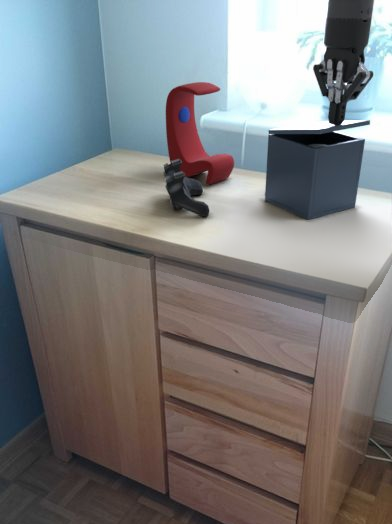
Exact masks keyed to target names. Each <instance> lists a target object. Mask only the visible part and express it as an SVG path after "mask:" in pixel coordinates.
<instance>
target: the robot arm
mask: <svg viewBox="0 0 392 524" xmlns="http://www.w3.org/2000/svg"><path fill="white" fill-rule="evenodd" d="M326 2H327V3H326V12H325V21H324V32H323V39H322V40H323V41H322V42H323V43H322V44H323V46H324V47H325V48H326V49H325V51H324V53H323V59H322V61H320V63H315V64H314V65H313V67H312V70H313V73H314V77H315V79H316V81H317V84H318V87H319V90H320V92H321V96H322V97H325V98H327V100H328V102H329V105H328V115H327V119H328V121H329V124H333V125H340V124H342V123H343V121H345V119H346V112H347V105H348V103H349V102H351V101H356V100H357V99H358V98H359V96H360V95H361V93H362V92H363V91H364V90H365V88H366V87H367V85H369V83H370V81H371V80H372V79H373V78H374V71H373V70H368V68H367V67H366V66H365V62H366V57H365V49H366V48H367V46H368V45H369V41H370V34H371V27H372V21H373V12H374V5H375V0H327V1H326Z"/></svg>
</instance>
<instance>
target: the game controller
mask: <svg viewBox="0 0 392 524" xmlns="http://www.w3.org/2000/svg"><path fill="white" fill-rule="evenodd" d="M171 162H172V163H168V162H166V163H164V164H163V170H164V171H163V176H164V179H165V183H166V184H165V186H164V187H165V190H166V192H167V194H168V197H169V199H170V201H169V204H170V205H171V207H172V209H173V210H175V211H176V210H177V208H178V209H179V210H185V211H188V212H191V213H193V214H195V215H198V216H201V217H208V216H209V215H210V212H211V211H210V207H209V205H208V204H207V203H206V202H205V201H201V200H195V199H194V198H192V195H193V196H194V195H195V196H201V195H203V193H204V188H203V184H202V183H201V181H199V180H197V179H195V178H191V177H185V173H183V172H182V171H181V172H180V166H181V164H182V160H180V159H176V160H173V161H171Z"/></svg>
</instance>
